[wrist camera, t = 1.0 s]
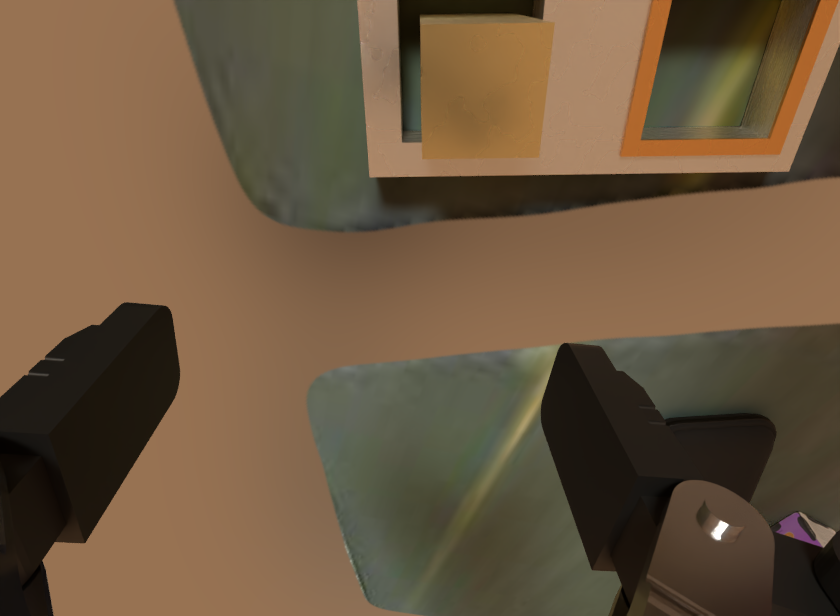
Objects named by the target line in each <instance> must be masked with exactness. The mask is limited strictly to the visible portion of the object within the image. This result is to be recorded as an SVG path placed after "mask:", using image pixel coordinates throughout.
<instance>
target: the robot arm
mask: <svg viewBox="0 0 840 616" xmlns="http://www.w3.org/2000/svg"><path fill="white" fill-rule="evenodd" d="M179 380H180V367H179V360H178V353H177V346H176V339H175V332H174V325H173V318H172V314H171V311H170V309H169V308H168V307H167V306H162V305H151V304H139V303H128V302H127V303H123V304H121V305H120V306H119V307H118V308H117V309H116V310H115V311H114V312H113V313H112V314H111V315H109V317H107V318H106V319H105V320H104V321H103V322H102V324H100V325H91V326H89V327H87V328H85V329H83V330H81V331H79V332H77V333H75V334H73V335H71V336H69V337H67V338H65V339H63V340H62V341H61V342H60V343H59V344H58V345H57V346H56V347H55V348H54V349H53V350H51V351H50V352H49V353H48V354H47V355H46V356H45V360H40V362H38V363H37V364H36V365H35V366H34V367H33V368H32V369H31V370H30V371H29V374H28V375H24V376H23V377H22V378H21V379H20V380H19V381H18V382H16V383H15V384H14V385H13V386H12V387H11V388H10V389H9V390H8V391H7V392H6V393H4V395H2V396H1V397H0V616H54V615H53V609H52V604H51V597H50V592H49V586H48V580H47V574H46V569H45V566H44V564H43V561H42V560H43V558H44V557H45V556H46V554H47V553H48V551H49V550H50V548H51V547H52V545H53V544H54V542H67V543H85V542H86V541H87V539H88V538H89V536H90V534H91V533H92V531H93V530H94V528H95V526H96V525H97V523H98V521H99V520H100V518H101V517H102V515H103V513H104V512H105V510H106V509H107V507H108V505H109V504H110V502H111V500H112V499H113V497H114V495H115V494H116V492H117V491H118V489H119V488H120V486H121V484H122V483H123V481H124V479H125V478H126V476H127V474H128V473H129V471H130V469H131V468H132V467H133V465H134V463H135V461H136V460H137V458H138V457H139V455H140V453H141V452H142V450H143V449H144V447H145V446H146V444H147V442H148V441H149V439H150V437H151V436H152V434H153V432H154V431H155V429H156V428H157V426H158V424H159V423H160V421H161V420H162V418H163V416H164V415H165V413H166V412H167V410H168V408H169V407H170V405H171V404H172V402H173V400H174V398H175V396H176V393H177V390H178V386H179ZM541 423H542V428H543V431H544V434H545V437H546V440H547V443H548V446H549V448H550V451H551V454H552V457H553V460H554V463H555V466H556V468H557V471H558V474H559V477H560V480H561V483H562V486H563V489H564V491H565V494H566V497H567V500H568V503H569V506H570V509H571V511H572V514H573V517H574V520H575V523H576V526H577V529H578V531H579V534H580V537H581V540H582V543H583V546H584V549H585V552H586V554H587V557H588V560H589V563H590V566H591V569H592V570H598V571H617V574H618V576H619V579H620V581H621V586H620V588H619V590H618V592H617V594H616V596H615V599H614V601H613V604H612V607H611V610H610V613H609V615H608V616H840V531H838V532H837V533H836V534H835V535H834V536H833V537H832V538H831V540H830V541H829V542H828V543H827V544H826V545H825V547H824V548H823V547H820V546H817V545H814V544H811V543H808V542H805V541H801V540H798V539H795V538H792V537H789V536H786V535H783V534H780V533H777V532H774V531H771V529H770V527H769V525H768V524H767V522H766V521H765V519H764V518H763V517H762V516H761V515H760V513H759V512H758V511H757V510H756V509H755V508H754V507H753V506H752V505H750V504H749V503H748V502H747V501H745V500H744V499H743V498H741V497H740V496H738V495H737V494H735V493H733V492H732V491H730V490H728V489H726V488H724V487H722V486H719V485H717V484H714V483H711V482H706V481H705V480H704V478H703V477H702V475H701V474H700V472H699V471H698V469H697V468H696V466H695V465H694V463H693V462H692V460H691V459H690V457H689V456H688V454H687V453H686V451H685V450H684V448H683V447H682V445H681V444H680V442H679V441H678V439H677V438H676V436H675V435H674V433H673V432H672V430H671V429H670V427H669V426H666V424H665V423H666V421H665V420H664V418H663V417H662V415H661V414H660V412H659V411H658V410H655V405H654V403H653V402H652V400H651V399H650V397H649V396H648V394H647V393H646V391H645V390H644V388H643V387H641V386H640V385H639V384H638V383H637V382H635V381H634V380H633V379H632V378H631V377H629V376H628V375H627V374H626V373H624V372H623V371H616V369H615V367H614V366H613V364H612V363H611V361H610V359H609V358H608V356H607V355H606V353H605V351H604V350H603V349H602V348H601V347H600V346H595V345H583V344H572V343H563V344H562V345H561V346H560V348H559V350H558V352H557V355H556V358H555V361H554V365H553V368H552V371H551V374H550V377H549V380H548V383H547V387H546V390H545V393H544V396H543V399H542V404H541Z"/></svg>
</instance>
